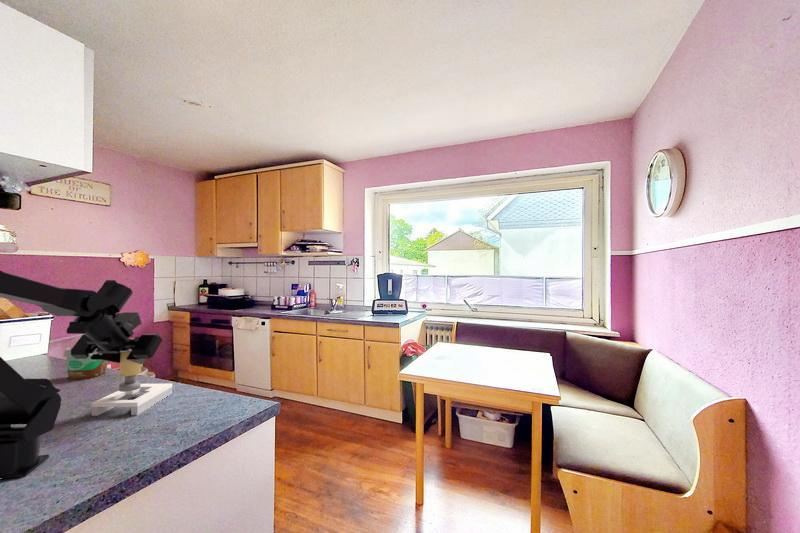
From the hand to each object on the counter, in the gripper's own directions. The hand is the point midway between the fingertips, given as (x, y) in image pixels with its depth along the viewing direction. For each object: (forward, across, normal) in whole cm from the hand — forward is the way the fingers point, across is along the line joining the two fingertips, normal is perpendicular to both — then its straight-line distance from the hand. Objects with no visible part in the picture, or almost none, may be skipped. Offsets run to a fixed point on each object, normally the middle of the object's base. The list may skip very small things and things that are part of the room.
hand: (134, 362), depth 89 cm
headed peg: (+4, 0, +6) cm, 7 cm away
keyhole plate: (+9, 0, +8) cm, 12 cm away
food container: (+24, +32, -8) cm, 41 cm away
